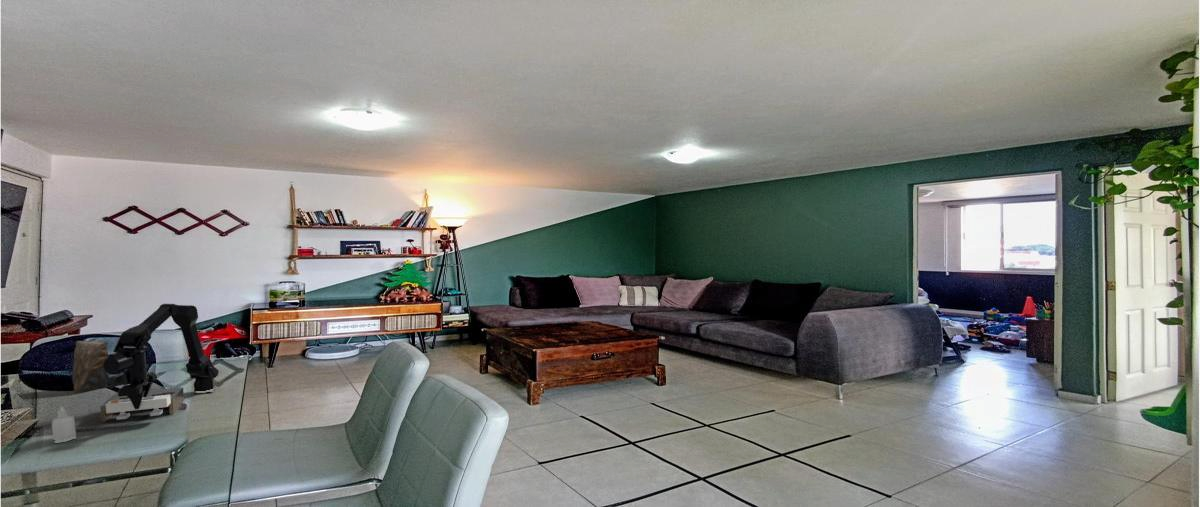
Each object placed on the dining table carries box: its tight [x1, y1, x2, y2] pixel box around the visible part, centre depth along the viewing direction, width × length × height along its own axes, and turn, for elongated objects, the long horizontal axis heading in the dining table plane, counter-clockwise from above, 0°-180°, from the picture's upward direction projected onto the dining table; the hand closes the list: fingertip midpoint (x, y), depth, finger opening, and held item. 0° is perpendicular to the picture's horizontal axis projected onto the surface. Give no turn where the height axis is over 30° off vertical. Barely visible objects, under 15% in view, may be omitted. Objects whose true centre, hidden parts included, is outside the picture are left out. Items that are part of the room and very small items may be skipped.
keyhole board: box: [100, 386, 185, 423], centre depth 224 cm, size 22×14×6 cm, turn 112°
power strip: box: [106, 395, 171, 421], centre depth 213 cm, size 18×4×7 cm, turn 112°
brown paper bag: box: [71, 339, 110, 395], centre depth 249 cm, size 13×13×20 cm
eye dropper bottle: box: [51, 406, 77, 440], centre depth 198 cm, size 4×6×12 cm
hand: (139, 406), depth 213 cm, fingers closed on power strip, 4 cm apart
